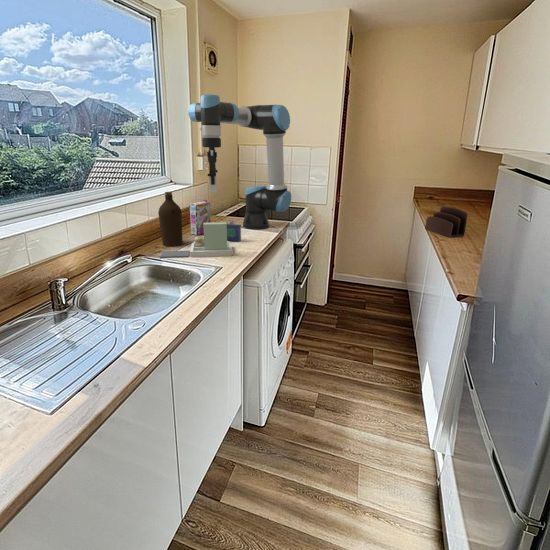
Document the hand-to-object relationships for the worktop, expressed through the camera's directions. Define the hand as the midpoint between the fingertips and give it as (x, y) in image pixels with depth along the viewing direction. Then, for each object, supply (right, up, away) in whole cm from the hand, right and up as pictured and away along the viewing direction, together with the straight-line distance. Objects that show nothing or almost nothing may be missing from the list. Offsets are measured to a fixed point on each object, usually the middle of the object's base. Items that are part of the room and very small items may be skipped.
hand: (213, 190), depth 158 cm
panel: (0, -26, +10) cm, 28 cm away
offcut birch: (-8, -22, +14) cm, 27 cm away
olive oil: (-24, -21, +24) cm, 39 cm away
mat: (-18, -27, +8) cm, 33 cm away
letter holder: (+122, -12, +54) cm, 135 cm away
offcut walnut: (-8, -25, +15) cm, 30 cm away
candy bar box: (-14, -13, +44) cm, 48 cm away
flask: (+4, -19, +30) cm, 36 cm away
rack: (-3, -26, +12) cm, 28 cm away
